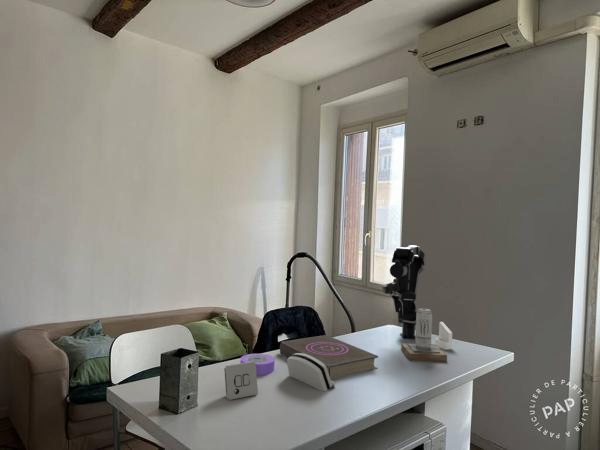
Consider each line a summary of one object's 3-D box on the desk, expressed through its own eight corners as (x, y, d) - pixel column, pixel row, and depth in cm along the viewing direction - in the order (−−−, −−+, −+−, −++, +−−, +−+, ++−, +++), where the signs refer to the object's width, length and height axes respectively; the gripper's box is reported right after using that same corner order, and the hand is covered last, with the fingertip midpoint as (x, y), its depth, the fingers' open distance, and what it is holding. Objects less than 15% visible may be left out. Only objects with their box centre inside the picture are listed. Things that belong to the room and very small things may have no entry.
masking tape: (263, 361, 155) (263, 351, 155) (280, 371, 145) (281, 360, 145) (234, 367, 148) (234, 356, 148) (250, 378, 139) (251, 366, 139)
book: (377, 369, 151) (378, 355, 151) (327, 381, 139) (327, 365, 139) (326, 346, 177) (326, 334, 177) (279, 354, 165) (279, 341, 165)
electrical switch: (228, 401, 120) (228, 367, 121) (221, 396, 125) (221, 363, 125) (258, 395, 125) (258, 363, 126) (251, 390, 129) (250, 359, 130)
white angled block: (434, 336, 188) (442, 321, 184) (448, 353, 180) (457, 338, 176) (428, 337, 186) (436, 322, 182) (442, 354, 178) (450, 339, 174)
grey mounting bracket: (336, 387, 133) (329, 359, 130) (326, 396, 130) (319, 367, 127) (300, 372, 145) (293, 346, 143) (289, 379, 142) (283, 353, 140)
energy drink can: (415, 349, 166) (417, 310, 166) (414, 344, 172) (415, 307, 172) (432, 350, 165) (433, 311, 165) (429, 345, 171) (431, 308, 171)
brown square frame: (401, 349, 176) (401, 341, 176) (435, 350, 175) (435, 343, 175) (409, 360, 162) (410, 352, 162) (446, 361, 161) (447, 353, 161)
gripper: (377, 274, 190) (375, 309, 189) (390, 277, 172) (388, 316, 171) (402, 275, 191) (400, 311, 190) (417, 279, 173) (415, 318, 172)
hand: (400, 314), depth 181 cm, fingers open, 9 cm apart
